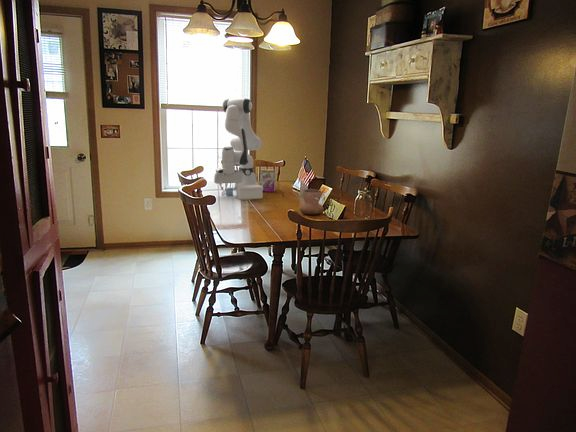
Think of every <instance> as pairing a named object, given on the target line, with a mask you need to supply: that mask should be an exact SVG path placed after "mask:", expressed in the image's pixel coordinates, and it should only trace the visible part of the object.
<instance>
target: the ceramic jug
mask: <svg viewBox="0 0 576 432" xmlns="http://www.w3.org/2000/svg"><path fill="white" fill-rule="evenodd" d="M301 192H302V198H303V201H304V202H303V203H302V204H301V205H300V206H299V211H300V213H302V214H304V215H307V214H308V215H309V216H315V215H316V216H317V215H320V214H322V213H323V212H324V209H325V208H324V207H323V205H321V203H319V202H320V200H321V198H322V196H323V195H322V194H323V190H320V189H315V188H306V189H302V190H301Z"/></svg>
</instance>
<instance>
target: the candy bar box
mask: <svg viewBox="0 0 576 432" xmlns="http://www.w3.org/2000/svg"><path fill="white" fill-rule="evenodd" d="M259 185H260V186H262V187H263V192H264V193H265V192H267V193H274V192H275V191H276V169H267V168H264V169H263V168H260V169H259Z"/></svg>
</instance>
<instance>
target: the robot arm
mask: <svg viewBox="0 0 576 432" xmlns="http://www.w3.org/2000/svg"><path fill="white" fill-rule="evenodd" d="M252 109H253V104H252V100H250V99H248V98H241V97H240V98H239V97H238V98H227V99H225V100H224V101H223V102H222V111H223V112H224V113H225V116H224V127H225V129H226V132H227V133H229V134H231V135H234V136H232V137H231V139H230V146H224V147H223V148H222V152H221V162H222V163H221V167H219V168H216V169H215V173H214V176H213V177H214V178H213V183H215V184H216V185H217V184H219V187H220V190H222V191H223V190H224V187H223V186H222V185H223V184H234V186H233V190H236V186H238V185H259V183H258V182H257V178H256V177H257V175H256V173H255V172H254V171H255V168H254V158H253V156H252V155H250V153H249V151H258V150H260V149H261V147H262V145H263V141H262V139H261V138H260V137H259V136H258V135H257V134H256V133H255V132H254V130H253V127H252V124H251V117H250V116H251V115H250V113H251V111H252ZM235 165H239V167H238V169H235V168H236V167H235Z"/></svg>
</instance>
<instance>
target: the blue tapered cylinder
mask: <svg viewBox="0 0 576 432" xmlns="http://www.w3.org/2000/svg"><path fill="white" fill-rule="evenodd" d="M233 195H234V187H231V186H230V187H225V196H228V197H230V196H233Z"/></svg>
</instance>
